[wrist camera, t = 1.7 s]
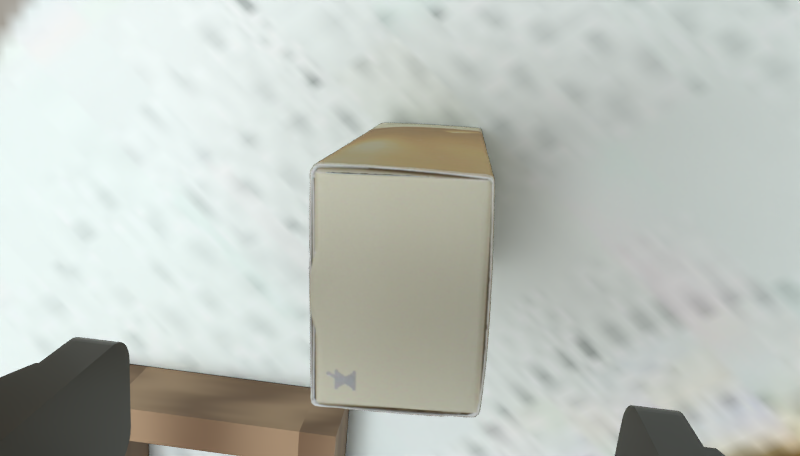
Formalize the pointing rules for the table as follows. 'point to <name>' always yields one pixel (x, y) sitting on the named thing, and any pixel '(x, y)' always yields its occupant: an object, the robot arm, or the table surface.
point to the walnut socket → (229, 416)
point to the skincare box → (402, 271)
